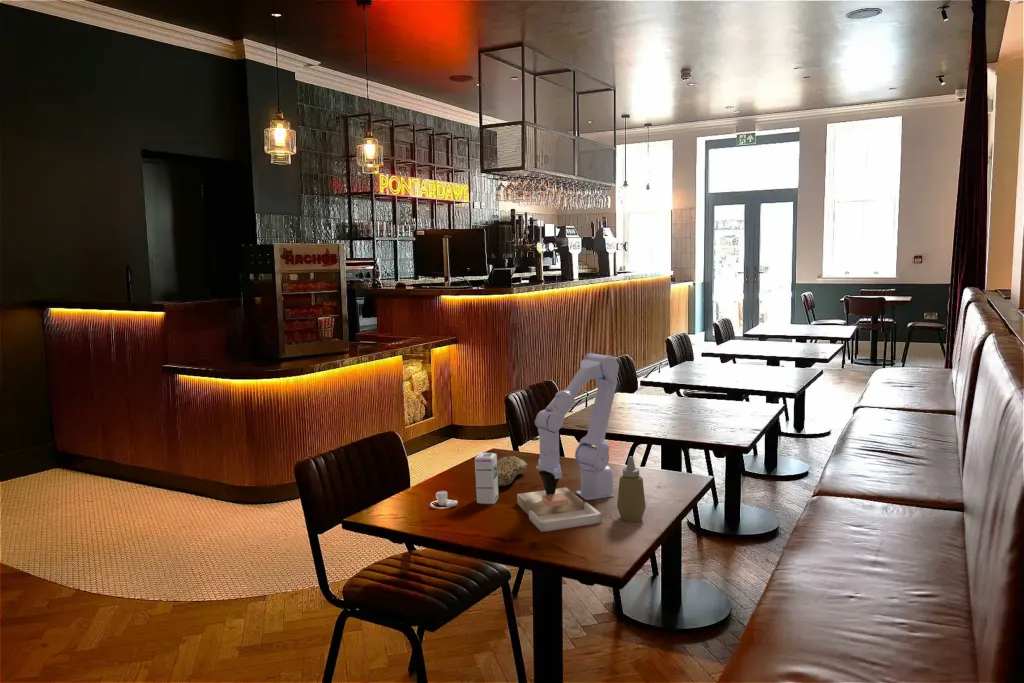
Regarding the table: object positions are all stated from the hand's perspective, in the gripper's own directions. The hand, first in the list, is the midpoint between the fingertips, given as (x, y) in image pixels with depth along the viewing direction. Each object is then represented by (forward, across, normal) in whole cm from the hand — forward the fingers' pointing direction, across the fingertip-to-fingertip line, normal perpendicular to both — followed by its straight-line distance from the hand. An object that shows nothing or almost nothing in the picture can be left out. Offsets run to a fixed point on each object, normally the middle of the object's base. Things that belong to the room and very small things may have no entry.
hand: (550, 495), depth 213 cm
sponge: (+4, -30, -5) cm, 31 cm away
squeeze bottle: (+4, +17, +18) cm, 25 cm away
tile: (+1, +4, 0) cm, 4 cm away
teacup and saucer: (+5, -13, -30) cm, 33 cm away
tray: (+4, +11, 0) cm, 12 cm away
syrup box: (+4, -13, -16) cm, 21 cm away
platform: (+4, -1, 0) cm, 4 cm away
